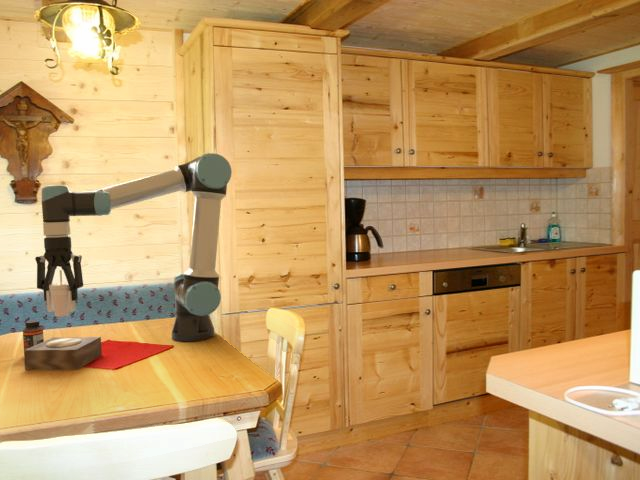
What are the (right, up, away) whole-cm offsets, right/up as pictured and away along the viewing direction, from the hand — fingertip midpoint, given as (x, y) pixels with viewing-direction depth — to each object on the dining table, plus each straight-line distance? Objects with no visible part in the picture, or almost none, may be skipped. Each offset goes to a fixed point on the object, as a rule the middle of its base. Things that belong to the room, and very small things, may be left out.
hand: (61, 311), depth 176 cm
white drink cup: (0, -2, 0) cm, 2 cm away
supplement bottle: (-14, -16, +11) cm, 24 cm away
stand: (+1, -16, +1) cm, 16 cm away
